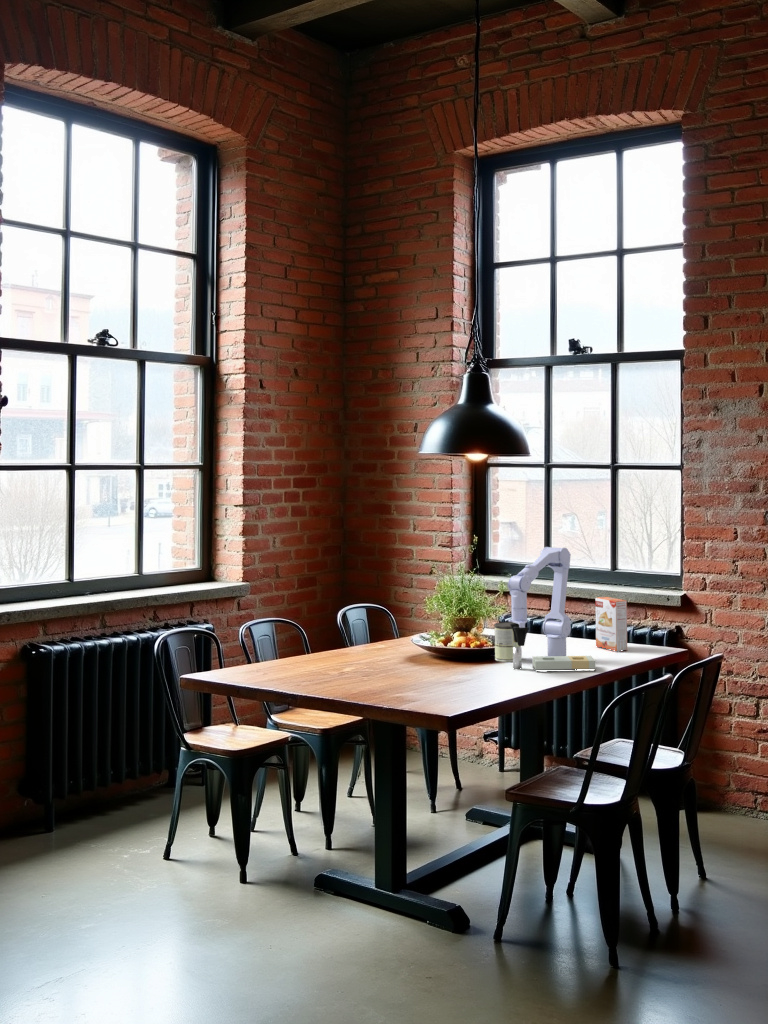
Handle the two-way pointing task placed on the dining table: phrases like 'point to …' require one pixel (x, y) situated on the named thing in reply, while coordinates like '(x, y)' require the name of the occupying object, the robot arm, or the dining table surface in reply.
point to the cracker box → (611, 623)
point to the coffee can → (504, 642)
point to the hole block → (563, 662)
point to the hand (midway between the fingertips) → (519, 644)
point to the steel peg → (517, 657)
